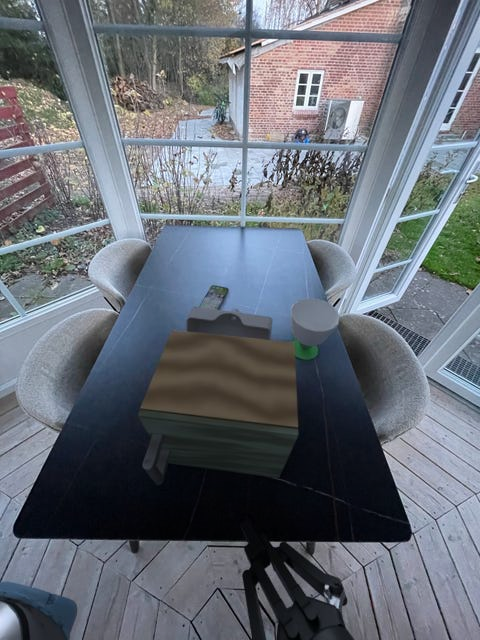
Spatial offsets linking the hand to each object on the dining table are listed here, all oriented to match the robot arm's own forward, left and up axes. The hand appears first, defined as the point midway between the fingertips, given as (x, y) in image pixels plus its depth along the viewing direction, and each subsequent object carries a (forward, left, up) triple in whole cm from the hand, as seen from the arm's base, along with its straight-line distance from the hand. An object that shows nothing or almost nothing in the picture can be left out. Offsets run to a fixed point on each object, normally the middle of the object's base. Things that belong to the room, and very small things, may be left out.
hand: (246, 529), depth 45 cm
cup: (+49, -15, -10) cm, 52 cm away
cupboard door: (+9, +6, -10) cm, 15 cm away
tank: (+49, +9, -11) cm, 51 cm away
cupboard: (+21, +6, -10) cm, 24 cm away
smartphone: (+69, +18, -10) cm, 72 cm away
